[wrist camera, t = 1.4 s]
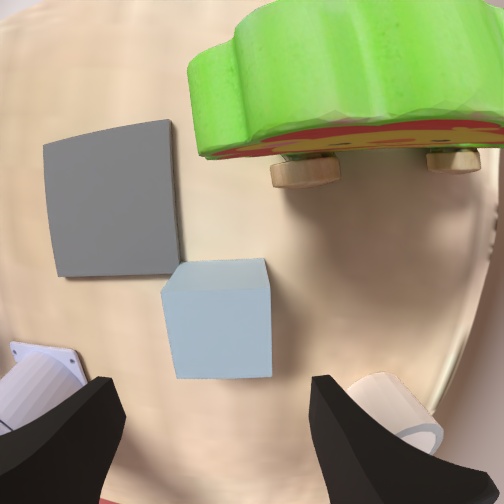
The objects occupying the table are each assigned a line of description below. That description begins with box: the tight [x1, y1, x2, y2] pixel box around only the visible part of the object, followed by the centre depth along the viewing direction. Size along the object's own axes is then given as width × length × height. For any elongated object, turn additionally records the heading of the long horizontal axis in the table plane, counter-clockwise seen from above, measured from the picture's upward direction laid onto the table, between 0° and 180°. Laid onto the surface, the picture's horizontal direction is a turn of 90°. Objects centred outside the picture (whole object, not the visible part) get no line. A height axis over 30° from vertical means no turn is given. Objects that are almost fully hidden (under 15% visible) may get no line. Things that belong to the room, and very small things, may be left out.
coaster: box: [43, 119, 181, 277], centre depth 17 cm, size 9×9×1 cm
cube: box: [161, 258, 272, 379], centre depth 17 cm, size 5×5×5 cm
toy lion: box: [187, 0, 504, 189], centre depth 9 cm, size 16×5×15 cm, turn 98°
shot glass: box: [345, 372, 443, 455], centre depth 18 cm, size 7×7×7 cm
